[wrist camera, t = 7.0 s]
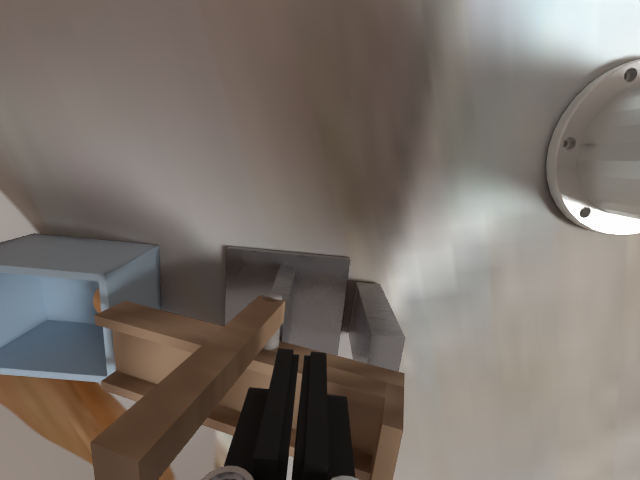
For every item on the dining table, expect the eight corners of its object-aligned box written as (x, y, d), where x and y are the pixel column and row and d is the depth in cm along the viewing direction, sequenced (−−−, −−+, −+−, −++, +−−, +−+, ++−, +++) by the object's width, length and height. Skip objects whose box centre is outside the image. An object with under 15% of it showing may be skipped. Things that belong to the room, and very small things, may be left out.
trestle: (382, 260, 26) (416, 315, 17) (367, 353, 28) (390, 445, 19) (228, 246, 25) (179, 294, 16) (226, 341, 28) (182, 429, 19)
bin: (158, 245, 25) (60, 300, 16) (162, 331, 27) (76, 426, 18) (33, 233, 25) (-145, 282, 15) (47, 321, 27) (-104, 412, 17)
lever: (414, 324, 14) (422, 577, 6) (380, 490, 17) (350, 837, 8) (122, 259, 18) (-143, 346, 10) (132, 402, 21) (-68, 573, 12)
